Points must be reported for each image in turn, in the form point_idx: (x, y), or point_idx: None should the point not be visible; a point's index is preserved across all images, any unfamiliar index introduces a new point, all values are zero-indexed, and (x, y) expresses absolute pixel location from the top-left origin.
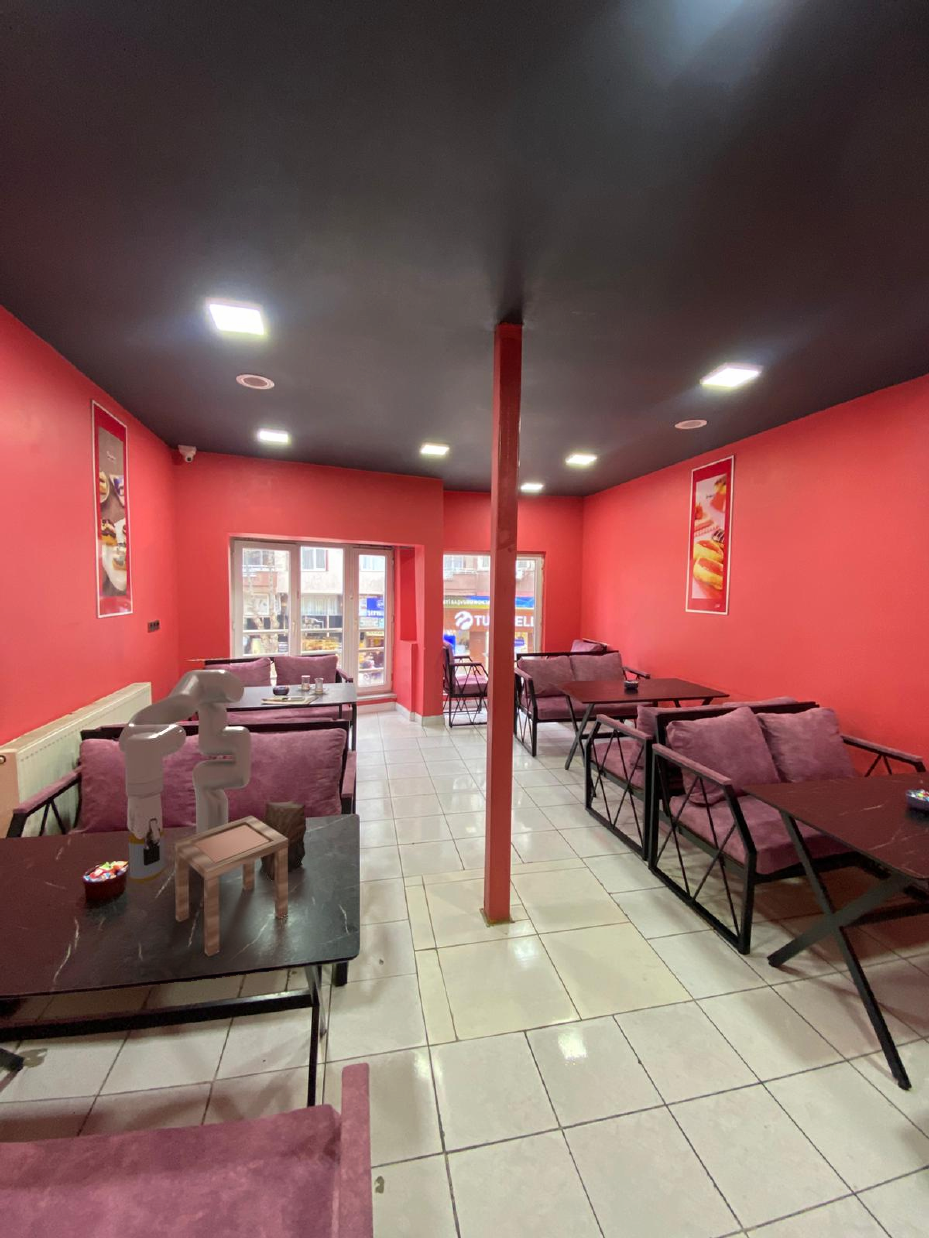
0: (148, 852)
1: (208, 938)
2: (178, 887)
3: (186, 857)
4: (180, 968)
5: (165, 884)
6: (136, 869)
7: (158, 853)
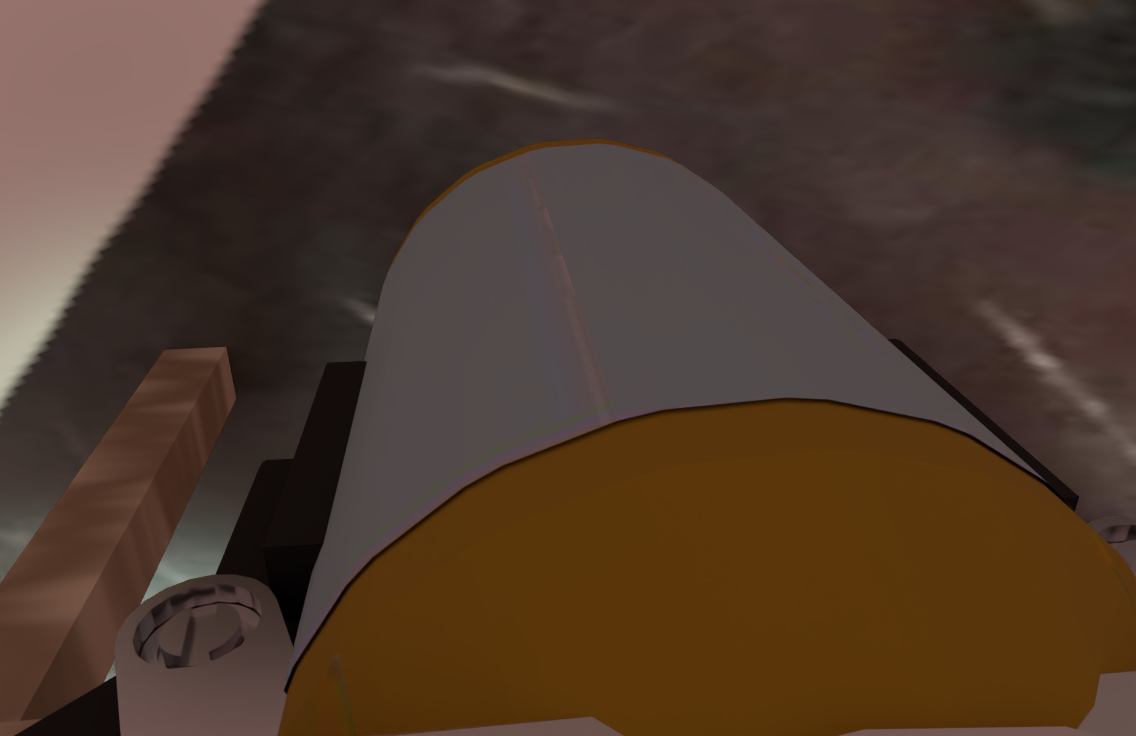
0: (257, 561)
1: (128, 403)
2: None
3: None
4: (171, 209)
5: (1060, 377)
6: (444, 235)
7: None
